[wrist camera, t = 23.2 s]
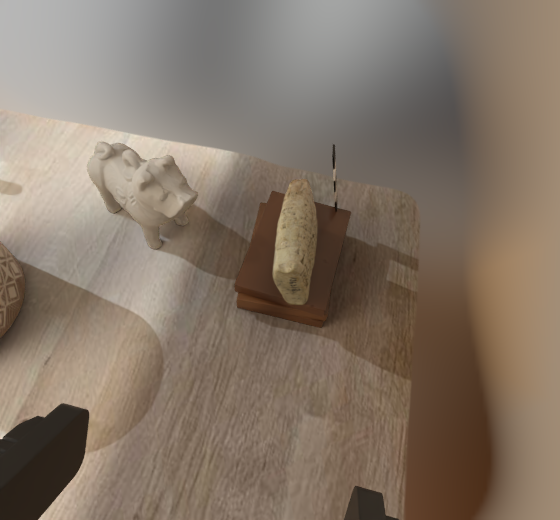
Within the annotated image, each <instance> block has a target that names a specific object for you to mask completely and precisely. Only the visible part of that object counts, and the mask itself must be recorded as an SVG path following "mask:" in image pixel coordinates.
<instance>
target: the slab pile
mask: <svg viewBox="0 0 560 520" xmlns="http://www.w3.org/2000/svg"><path fill="white" fill-rule="evenodd" d="M285 195H286V194H282V193H279V192H275V191H272V192H271V195H270V197H269V200H268V202H267V203H260V207H259V211H258V215H257V219H256V223H255V227H254V231H253V235H252V239H251V243H250V247H249V249H248V252H247V254H246V257H245V259H244V262H243V264H242V267H241V269H240V272H239V274H238V277H237V279H236V282H235V291H236V292H238V296H237V307H238V308H242V309H246V310H250V311H254V312H258V313H262V314H266V315H270V316H274V317H279V318H283V319H287V320H291V321H295V322H299V323H303V324H307V325H311V326H315V327H319V328H321V327H322V325H323V322H324V321H326V319H327V316H328V309H329V301H330V292H331V287H332V284H333V280H334V276H335V272H336V268H337V264H338V261H339V257H340V253H341V249H342V245H343V241H344V238H345V234H346V230H347V226H348V222H349V219H350V215H351V212H350V211H347V210H343V209H339V208H337V212H335V207H332V206H328V205H324V204H320V203H316V202H314V203H315V207H316V217H317V246H316V254H315V258H314V266H313V268H312V274H311V277H310V280H311V281H310V290H309V298H308V301H307V302H306V303H305V304H303V305H291V304H288V303H287V302H286V301H285V299H284V298H283V296H282V295H281V293H280V291H279V290H278V288H277V286H276V284H275V282H274V279H273V274H272V271H273V263H274V256H275V242H276V236H277V227H278V226H277V224H278V220H279V217H280V213H281V210H282V204H283V201H284V197H285Z"/></svg>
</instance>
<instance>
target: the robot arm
mask: <svg viewBox="0 0 560 520" xmlns="http://www.w3.org/2000/svg"><path fill="white" fill-rule="evenodd" d="M88 422H89V411H88V410H86V409H82V408H79V407H75V406H72V405H68V404H64V403H63V404H60V405H59V406H58V407H57V408H55V409H54V410H53V411H52V412H51V413H50V414H48V415H47V416H46V417H45V418H44V417H40V416H37V417H34V418H32V419H30V420H28V421H25V422H23V423H21V424H19V425H17V426H16V427H15V428H14V429H12V430H11V431H10V432H9V433H7V434H6V435H5V436H4V437H3V439H0V520H38V519H39V518H40V517H41V515H42V514H43V513H44V512H45V511H46V510H47V508H48V507H49V506H50V505H51V504H52V502H53V501H54V500H55V499H56V498H57V497H58V495H59V494H60V493H61V492H62V491H63V489H64V488H65V487H66V486H67V485H68V484H69V482H70V481H71V480H72V479H73V478H74V476H75V475H76V474H77V472H78V470H79V468H80V466H81V464H82V462H83V459H84V455H85V448H86V439H87V431H88ZM344 520H399V519H396V518H393V517H389V516H386V515H385V508H384V501H383V495H382V493H380V492H376V491H372V490H369V489H365V488H362V487H358V486H355V487H354V489H353V492H352V495H351V498H350V502H349V505H348V508H347V512H346V515H345V518H344Z"/></svg>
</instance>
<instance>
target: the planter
mask: <svg viewBox="0 0 560 520" xmlns="http://www.w3.org/2000/svg"><path fill="white" fill-rule="evenodd" d="M24 295H25V278H24V273H23V270H22V268H21V266H20V264H19V262H18V261H17V260H16V258H15V257H14V256H13V255H12V254H11V253H10V252H9V251H8V250H7V248H6V247H5V246H4V245H3V244H2V243H1V242H0V338H1V337H2V336H3V335H4V334H5V333H6V331H7V330H8V329H9V328H10V326H11V325H12V323H13V322H14V320H15V319H16V317H17V315H18V313H19V311H20V309H21V306H22V303H23V300H24Z"/></svg>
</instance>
